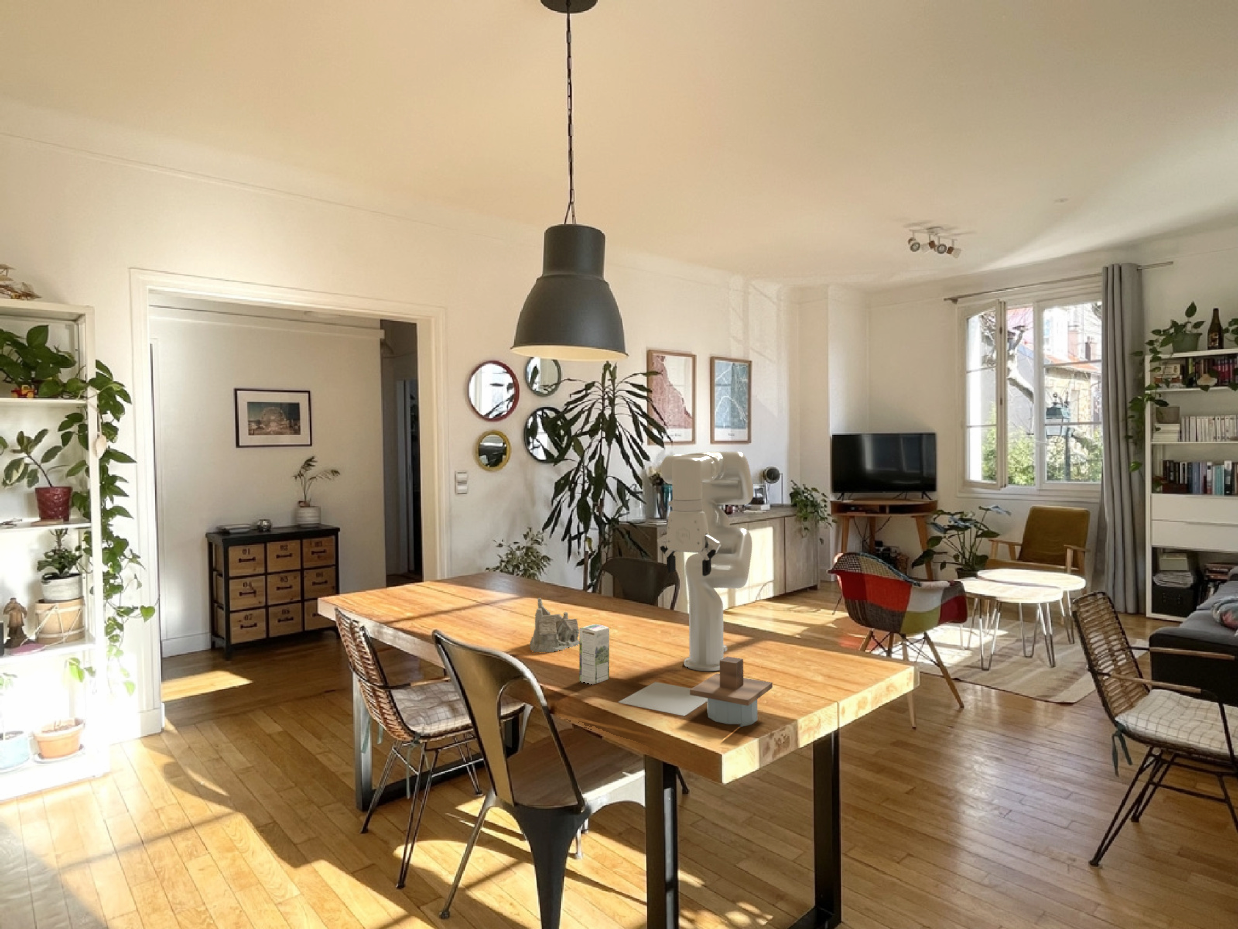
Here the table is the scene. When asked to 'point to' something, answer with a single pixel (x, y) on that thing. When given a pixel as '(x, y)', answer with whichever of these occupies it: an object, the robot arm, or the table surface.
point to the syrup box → (593, 654)
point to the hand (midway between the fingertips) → (688, 573)
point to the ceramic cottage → (553, 631)
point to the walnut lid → (731, 684)
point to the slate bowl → (732, 712)
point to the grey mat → (665, 699)
